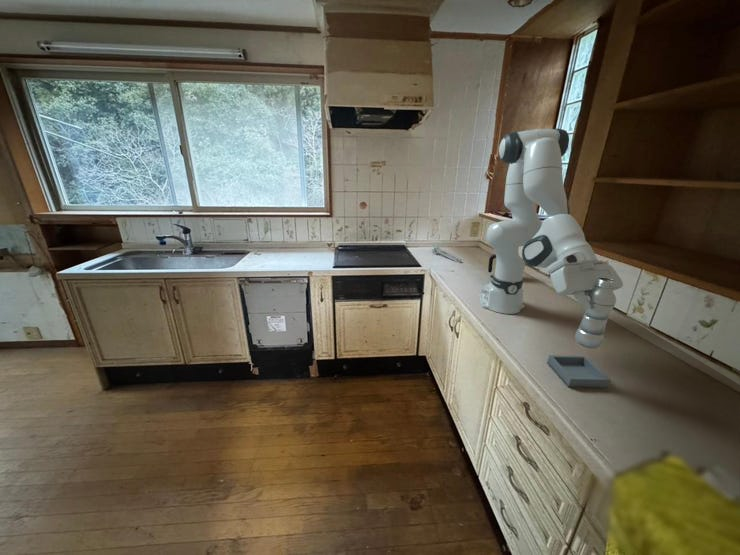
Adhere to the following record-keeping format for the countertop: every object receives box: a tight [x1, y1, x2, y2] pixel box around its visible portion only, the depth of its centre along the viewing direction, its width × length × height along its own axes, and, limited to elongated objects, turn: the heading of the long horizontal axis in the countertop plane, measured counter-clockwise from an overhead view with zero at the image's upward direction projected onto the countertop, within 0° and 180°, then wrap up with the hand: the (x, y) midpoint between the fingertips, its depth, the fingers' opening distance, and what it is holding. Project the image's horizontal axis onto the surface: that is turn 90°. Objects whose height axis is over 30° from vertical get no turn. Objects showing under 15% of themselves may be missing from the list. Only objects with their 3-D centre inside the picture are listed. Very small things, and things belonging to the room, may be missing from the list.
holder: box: [546, 354, 611, 389], centre depth 88 cm, size 11×11×3 cm
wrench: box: [429, 241, 462, 264], centre depth 204 cm, size 8×2×30 cm
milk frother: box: [487, 253, 496, 279], centre depth 161 cm, size 14×16×15 cm
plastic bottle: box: [574, 278, 617, 350], centre depth 80 cm, size 6×7×20 cm
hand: (600, 307), depth 79 cm, fingers closed on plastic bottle, 6 cm apart
